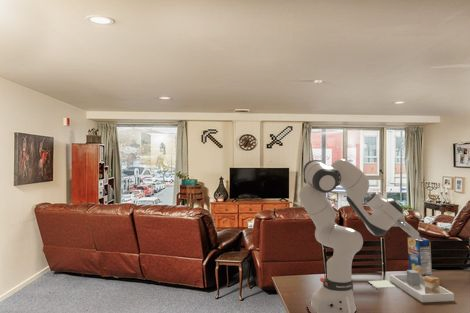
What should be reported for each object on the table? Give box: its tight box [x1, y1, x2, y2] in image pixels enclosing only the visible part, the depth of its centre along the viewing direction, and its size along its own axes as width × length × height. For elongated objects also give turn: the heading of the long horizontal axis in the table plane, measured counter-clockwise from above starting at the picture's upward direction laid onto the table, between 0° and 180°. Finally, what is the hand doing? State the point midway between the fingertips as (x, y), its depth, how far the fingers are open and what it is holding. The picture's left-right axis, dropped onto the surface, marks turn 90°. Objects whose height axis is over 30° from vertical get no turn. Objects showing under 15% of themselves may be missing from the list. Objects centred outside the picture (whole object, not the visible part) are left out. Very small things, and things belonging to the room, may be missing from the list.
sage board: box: [367, 279, 397, 290], centre depth 179 cm, size 11×10×1 cm
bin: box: [389, 273, 455, 303], centre depth 168 cm, size 16×29×4 cm, turn 2°
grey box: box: [406, 269, 420, 286], centre depth 177 cm, size 4×4×7 cm
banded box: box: [424, 275, 440, 294], centre depth 161 cm, size 5×5×9 cm
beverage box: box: [407, 236, 433, 277], centre depth 194 cm, size 7×11×22 cm, turn 7°
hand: (415, 235), depth 160 cm, fingers open, 8 cm apart
